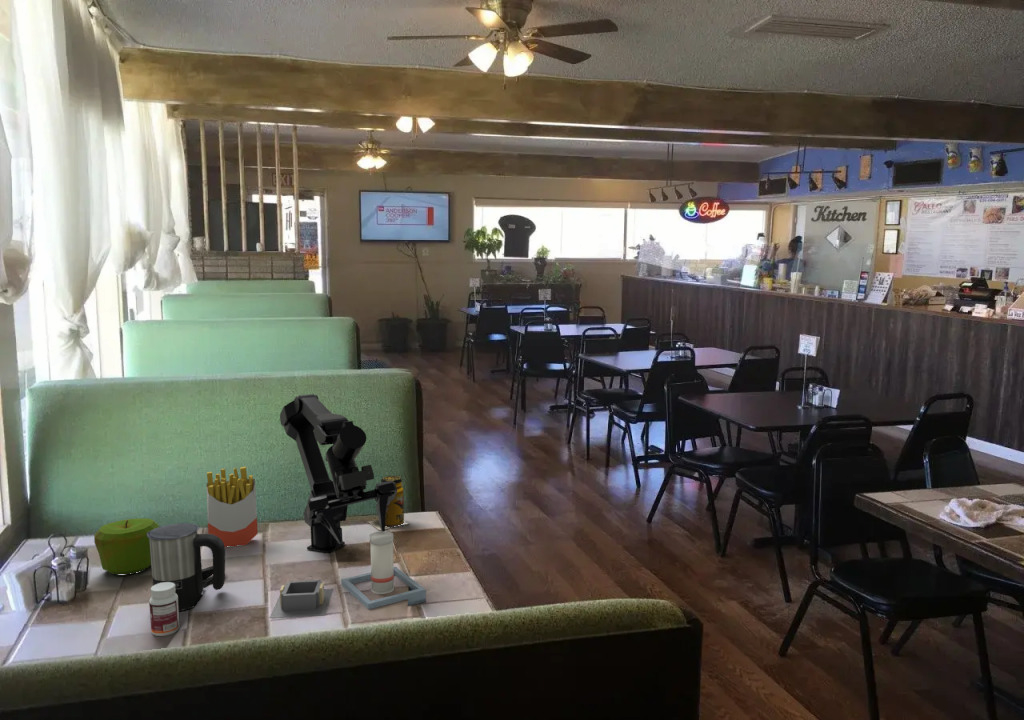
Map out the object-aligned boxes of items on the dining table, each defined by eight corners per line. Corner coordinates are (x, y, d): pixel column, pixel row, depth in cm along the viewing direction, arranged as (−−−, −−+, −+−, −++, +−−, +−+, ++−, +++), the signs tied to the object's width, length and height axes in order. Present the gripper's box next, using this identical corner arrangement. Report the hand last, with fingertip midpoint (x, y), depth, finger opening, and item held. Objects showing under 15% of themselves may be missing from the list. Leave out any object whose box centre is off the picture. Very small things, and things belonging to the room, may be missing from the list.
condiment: (410, 524, 197) (409, 478, 195) (379, 530, 192) (378, 484, 191) (398, 517, 203) (396, 472, 202) (367, 523, 198) (366, 477, 197)
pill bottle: (156, 625, 142) (154, 581, 141) (183, 624, 142) (181, 580, 141) (146, 637, 137) (143, 592, 136) (174, 636, 137) (171, 591, 136)
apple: (156, 555, 177) (153, 507, 175) (165, 572, 166) (162, 521, 165) (94, 567, 170) (90, 517, 168) (100, 585, 160) (96, 533, 158)
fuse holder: (282, 598, 153) (281, 575, 152) (333, 595, 154) (332, 573, 153) (269, 625, 141) (268, 601, 140) (325, 622, 142) (324, 598, 141)
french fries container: (258, 544, 183) (254, 470, 181) (209, 549, 180) (205, 474, 178) (257, 537, 188) (254, 465, 185) (209, 543, 184) (206, 469, 182)
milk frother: (152, 617, 145) (147, 541, 143) (150, 587, 159) (145, 517, 157) (231, 602, 151) (228, 529, 149) (223, 574, 165) (220, 507, 163)
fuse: (367, 591, 154) (366, 533, 153) (388, 586, 157) (387, 529, 155) (376, 600, 150) (375, 540, 149) (398, 594, 153) (397, 536, 151)
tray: (341, 591, 156) (341, 579, 156) (395, 577, 163) (395, 566, 162) (368, 616, 144) (368, 604, 144) (425, 601, 151) (425, 589, 151)
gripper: (302, 463, 157) (320, 535, 150) (390, 445, 165) (411, 512, 158) (299, 485, 166) (316, 553, 159) (383, 466, 174) (402, 531, 167)
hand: (362, 537), depth 161 cm, fingers open, 9 cm apart
